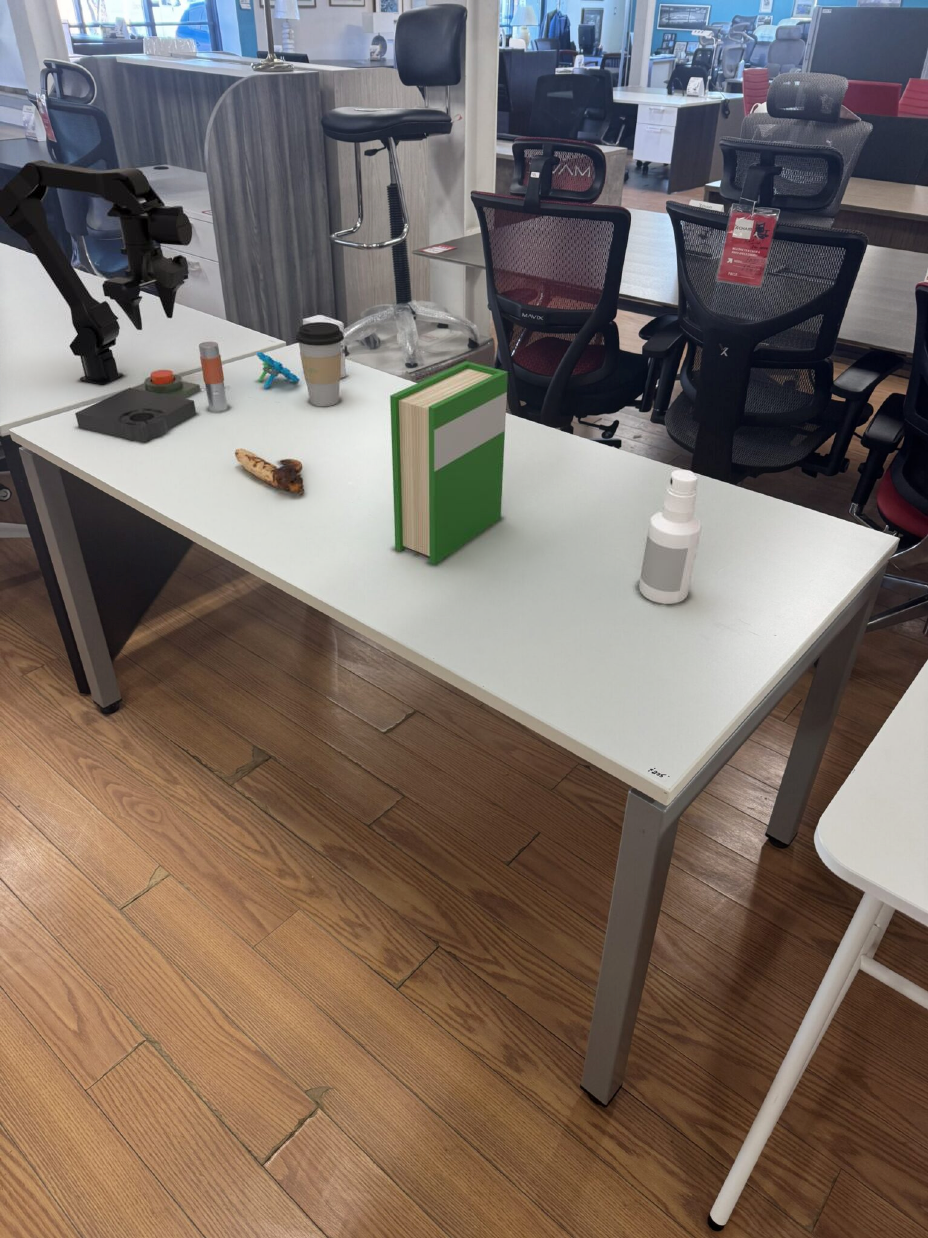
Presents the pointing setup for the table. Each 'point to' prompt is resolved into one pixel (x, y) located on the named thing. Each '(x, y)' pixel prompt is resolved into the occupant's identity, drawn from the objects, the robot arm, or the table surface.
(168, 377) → the release button
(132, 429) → the grinder base
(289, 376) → the blue toy gun
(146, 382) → the button block
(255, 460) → the lashed bone hook
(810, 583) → the table surface
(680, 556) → the spray bottle
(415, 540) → the hardback book
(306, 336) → the coffee cup
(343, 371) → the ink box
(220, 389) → the silver-capped orange cylinder
